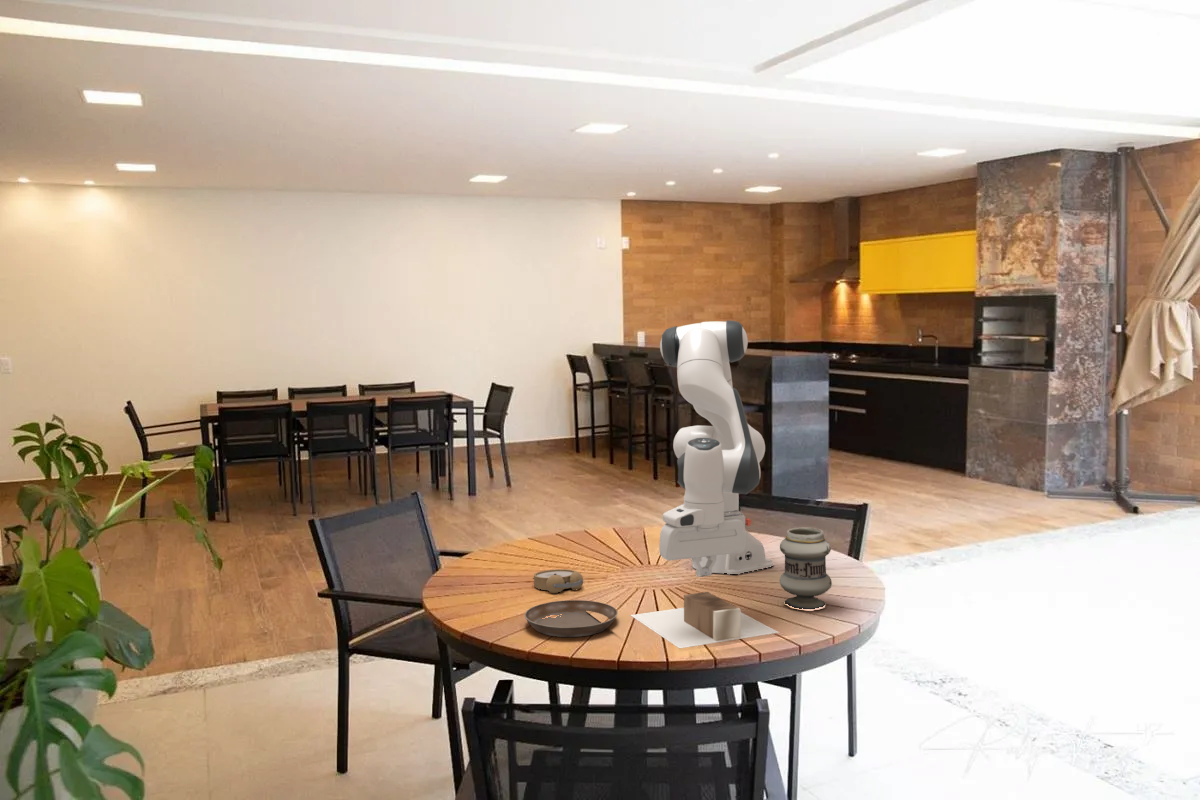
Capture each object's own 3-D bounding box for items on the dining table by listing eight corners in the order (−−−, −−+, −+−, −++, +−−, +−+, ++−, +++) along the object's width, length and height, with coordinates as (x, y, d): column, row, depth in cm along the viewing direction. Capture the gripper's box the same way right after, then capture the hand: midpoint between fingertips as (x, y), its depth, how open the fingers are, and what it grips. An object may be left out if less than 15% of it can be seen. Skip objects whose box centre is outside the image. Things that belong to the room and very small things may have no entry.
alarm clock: (563, 567, 246) (591, 569, 233) (565, 586, 245) (593, 589, 232) (525, 573, 240) (552, 576, 227) (527, 592, 239) (554, 596, 227)
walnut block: (707, 591, 207) (740, 608, 194) (707, 617, 208) (740, 636, 195) (683, 594, 205) (715, 612, 192) (684, 621, 205) (715, 640, 193)
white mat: (722, 605, 220) (721, 602, 220) (779, 636, 198) (779, 632, 198) (630, 618, 210) (630, 615, 210) (679, 652, 188) (679, 648, 188)
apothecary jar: (769, 601, 222) (769, 528, 221) (810, 595, 227) (811, 523, 226) (799, 615, 211) (799, 538, 210) (842, 609, 216) (842, 533, 215)
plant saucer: (512, 619, 211) (512, 605, 211) (595, 608, 219) (595, 594, 219) (543, 647, 192) (543, 632, 192) (633, 634, 201) (633, 619, 200)
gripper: (737, 507, 208) (737, 567, 209) (655, 514, 200) (656, 577, 201) (752, 512, 202) (752, 574, 203) (669, 520, 194) (669, 584, 195)
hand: (703, 575), depth 202 cm, fingers closed
